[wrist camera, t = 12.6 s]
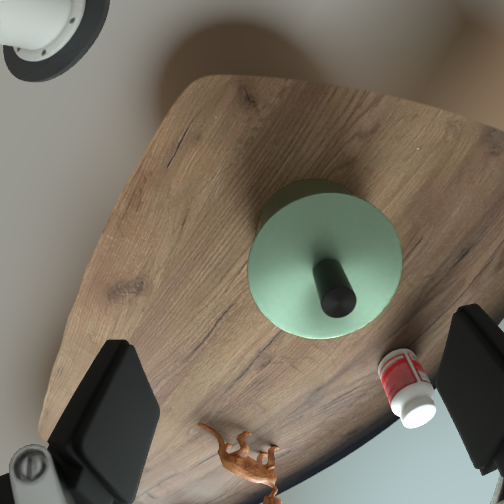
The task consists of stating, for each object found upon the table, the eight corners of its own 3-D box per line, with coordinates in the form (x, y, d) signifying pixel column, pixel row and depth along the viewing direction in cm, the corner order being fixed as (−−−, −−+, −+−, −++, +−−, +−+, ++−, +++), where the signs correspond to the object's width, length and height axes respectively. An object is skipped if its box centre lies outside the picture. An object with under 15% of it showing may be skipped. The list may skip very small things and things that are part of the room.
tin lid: (237, 198, 26) (228, 219, 20) (399, 185, 25) (432, 201, 19) (257, 337, 31) (254, 381, 25) (392, 322, 30) (413, 361, 24)
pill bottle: (372, 378, 44) (390, 433, 33) (384, 346, 42) (408, 402, 31) (407, 377, 44) (429, 429, 33) (420, 346, 41) (449, 398, 31)
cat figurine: (189, 425, 50) (173, 489, 37) (209, 408, 47) (195, 478, 35) (269, 461, 53) (268, 521, 40) (293, 448, 51) (295, 511, 38)
